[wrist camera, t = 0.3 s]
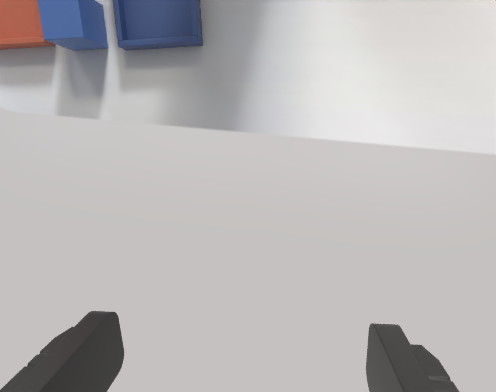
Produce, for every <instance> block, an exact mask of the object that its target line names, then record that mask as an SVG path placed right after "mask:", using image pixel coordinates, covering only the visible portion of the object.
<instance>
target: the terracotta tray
mask: <svg viewBox="0 0 496 392" xmlns="http://www.w3.org/2000/svg"><path fill="white" fill-rule="evenodd" d="M41 46H55V44H54V43H51V42H48V41H45V40H44V37H43V31H42V26H41V20H40V14H39V9H38V3H37V0H0V49H11V48H26V47H41Z"/></svg>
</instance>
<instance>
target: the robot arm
mask: <svg viewBox="0 0 496 392" xmlns="http://www.w3.org/2000/svg"><path fill="white" fill-rule="evenodd" d="M123 359H124V348H123V342H122V336H121V330H120V324H119V318H118V315H117V314H116V313H115V312H103V311H102V312H101V311H91V312H89V313H88V314H87V315H86V316H85V317H84V318H83V319H82V320H81V321H80V322H79V323H78V324H77V325H76V326H75V327H71V328H70V329H68V330H66V331H65V332H63V333H62V334H60V335H59V336H57V337H55V338H54V339H53V340H52V341H51V342H50V343H49V344H48V345H47V346H46V347H45V348H44V349H42V350H41V351H40V354H39V355H36V356H35V357H34V358H33V359H32V360H31V361H30V362H29V363H28V366H27V367H24V368H23V369H22V370H21V371H19V373H17V374H16V376H14V377H13V378H12V379H11V380H10V381H9V382H8V383H7V384H6V385H5V386H4V387H3V388H2V389H1V390H0V392H107V390H108V389H109V387H110V385H111V384H112V382H113V381H114V379H115V378H116V376H117V375H118V373H119V371H120V369H121V367H122V364H123ZM366 374H367V382H368V387H369V391H370V392H459V391H458V389H457V388H456V386H455V385H454V383H453V382H451V381H450V377H449V375H448V374H447V372H446V371H445V369H444V368H443V366H442V365H441V363H440V362H439V360H438V359H436V357H434V356H433V355H432V354H431V353H430V352H429V351H427V350H426V349H425V348H424V347H423V346H422V345H410V343H409V342H408V340H407V338H406V336H405V334H404V333H403V331H402V329H401V327H400V326H399V325H392V324H371V325H370V327H369V336H368V349H367V362H366Z"/></svg>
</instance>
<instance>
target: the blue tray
mask: <svg viewBox="0 0 496 392" xmlns="http://www.w3.org/2000/svg"><path fill="white" fill-rule="evenodd" d="M113 6H114V14H115V22H116V30H117V38H118V46H119V47H120V48H122V49H125V50H139V49H155V48H171V47H187V46H202V45H203V44H202V27H201V11H200V0H113Z"/></svg>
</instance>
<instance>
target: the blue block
mask: <svg viewBox="0 0 496 392" xmlns="http://www.w3.org/2000/svg"><path fill="white" fill-rule="evenodd" d="M37 3H38V9H39V14H40V20H41V26H42V31H43V37H44V40H45V41H48V42H51V43H54V44H57V45H60V46H62V47H65V48H68V49H71V50H86V49H101V48H108V44H107V36H106V28H105V21H104V13H103V6H102V5H101V4H100V3H98V2H96V1H95V0H37Z"/></svg>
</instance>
